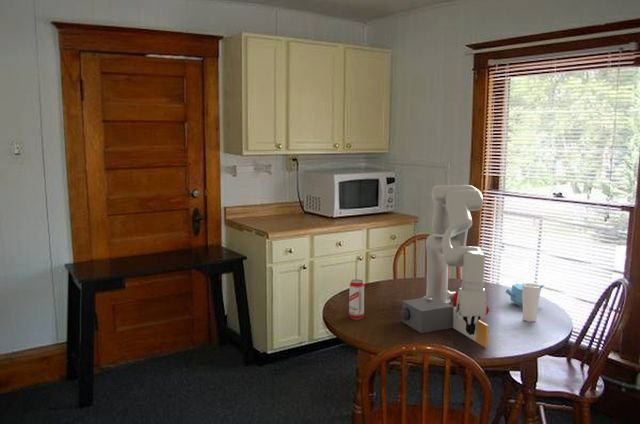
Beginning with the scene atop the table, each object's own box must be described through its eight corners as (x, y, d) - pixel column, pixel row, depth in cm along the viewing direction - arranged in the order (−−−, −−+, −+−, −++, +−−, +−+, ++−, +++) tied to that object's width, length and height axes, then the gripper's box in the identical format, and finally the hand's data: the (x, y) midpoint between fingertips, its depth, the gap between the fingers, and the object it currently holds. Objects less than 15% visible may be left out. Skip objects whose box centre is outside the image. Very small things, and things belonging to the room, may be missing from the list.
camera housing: (431, 316, 231) (432, 294, 229) (452, 327, 218) (453, 304, 217) (398, 322, 224) (399, 299, 223) (418, 333, 212) (418, 309, 210)
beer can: (355, 313, 234) (356, 278, 232) (366, 317, 230) (367, 281, 227) (346, 317, 230) (346, 281, 227) (357, 321, 225) (357, 284, 223)
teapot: (511, 310, 239) (512, 288, 237) (498, 300, 253) (499, 279, 251) (550, 309, 241) (551, 287, 239) (535, 299, 254) (536, 278, 253)
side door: (451, 327, 218) (452, 307, 216) (454, 326, 218) (455, 306, 217) (485, 347, 198) (486, 325, 196) (488, 347, 198) (489, 325, 197)
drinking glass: (530, 323, 222) (532, 288, 220) (517, 318, 228) (519, 284, 226) (541, 321, 226) (544, 286, 223) (528, 316, 231) (530, 282, 229)
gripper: (487, 281, 201) (484, 328, 204) (449, 283, 198) (447, 330, 201) (496, 287, 193) (494, 336, 196) (457, 289, 191) (455, 338, 194)
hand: (470, 333), depth 199 cm, fingers closed
